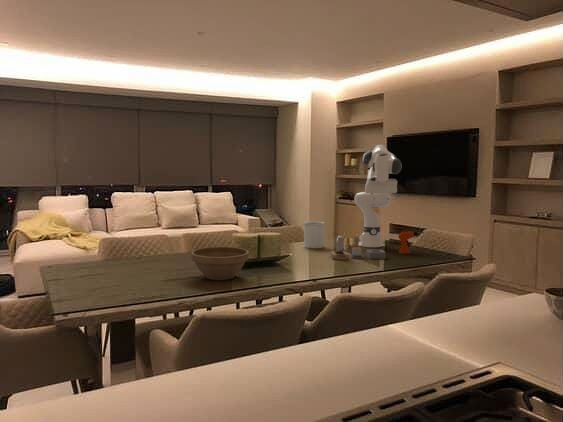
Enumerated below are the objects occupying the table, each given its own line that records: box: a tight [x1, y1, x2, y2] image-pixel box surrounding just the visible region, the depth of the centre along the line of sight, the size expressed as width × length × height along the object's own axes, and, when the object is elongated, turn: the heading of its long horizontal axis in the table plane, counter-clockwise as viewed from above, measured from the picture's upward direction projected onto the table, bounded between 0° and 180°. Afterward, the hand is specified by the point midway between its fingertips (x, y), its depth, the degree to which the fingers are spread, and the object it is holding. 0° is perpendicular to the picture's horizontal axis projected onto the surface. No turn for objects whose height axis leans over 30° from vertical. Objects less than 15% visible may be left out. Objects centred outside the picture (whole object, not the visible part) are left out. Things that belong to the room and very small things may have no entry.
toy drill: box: [398, 230, 425, 255], centre depth 302 cm, size 5×19×15 cm, turn 103°
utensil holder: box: [303, 221, 325, 249], centre depth 325 cm, size 15×15×18 cm
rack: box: [330, 251, 350, 260], centre depth 284 cm, size 10×10×3 cm
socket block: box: [365, 249, 387, 260], centre depth 286 cm, size 10×10×4 cm
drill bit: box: [335, 235, 344, 254], centre depth 283 cm, size 4×4×14 cm
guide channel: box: [347, 252, 365, 260], centre depth 289 cm, size 14×8×1 cm, turn 1°
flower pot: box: [190, 246, 250, 281], centre depth 230 cm, size 28×28×13 cm
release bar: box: [351, 247, 362, 257], centre depth 286 cm, size 4×5×6 cm
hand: (380, 200), depth 294 cm, fingers open, 8 cm apart
